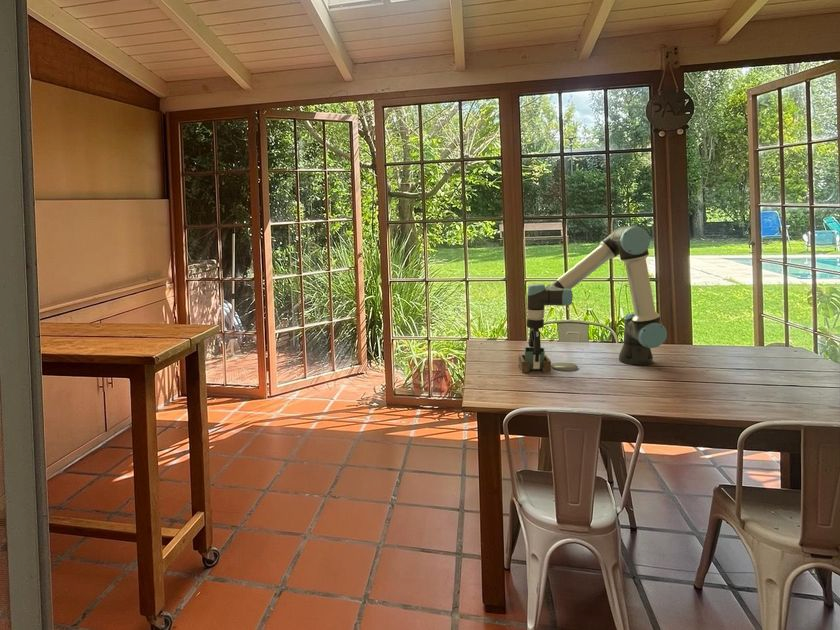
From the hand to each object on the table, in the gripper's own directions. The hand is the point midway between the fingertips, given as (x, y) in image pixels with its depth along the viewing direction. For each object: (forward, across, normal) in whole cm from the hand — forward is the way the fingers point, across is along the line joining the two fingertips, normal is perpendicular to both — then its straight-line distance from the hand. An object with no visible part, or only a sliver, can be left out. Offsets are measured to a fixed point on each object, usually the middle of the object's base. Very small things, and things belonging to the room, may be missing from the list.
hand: (534, 364), depth 242 cm
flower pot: (+2, 0, 0) cm, 2 cm away
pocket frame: (+2, 0, 0) cm, 2 cm away
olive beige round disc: (+2, -2, +14) cm, 14 cm away
